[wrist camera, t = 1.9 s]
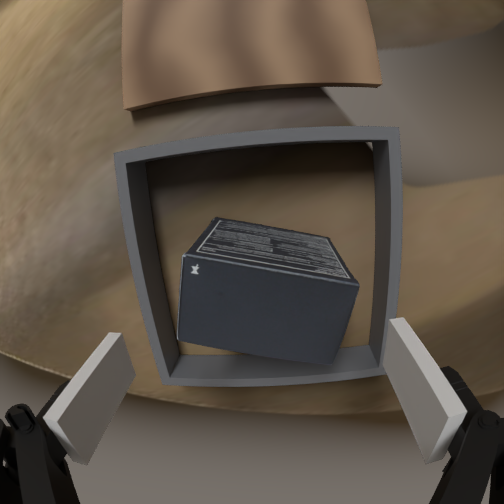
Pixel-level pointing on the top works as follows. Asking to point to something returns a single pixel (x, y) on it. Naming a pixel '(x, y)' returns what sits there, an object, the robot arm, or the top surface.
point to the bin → (251, 366)
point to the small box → (265, 292)
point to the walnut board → (243, 47)
